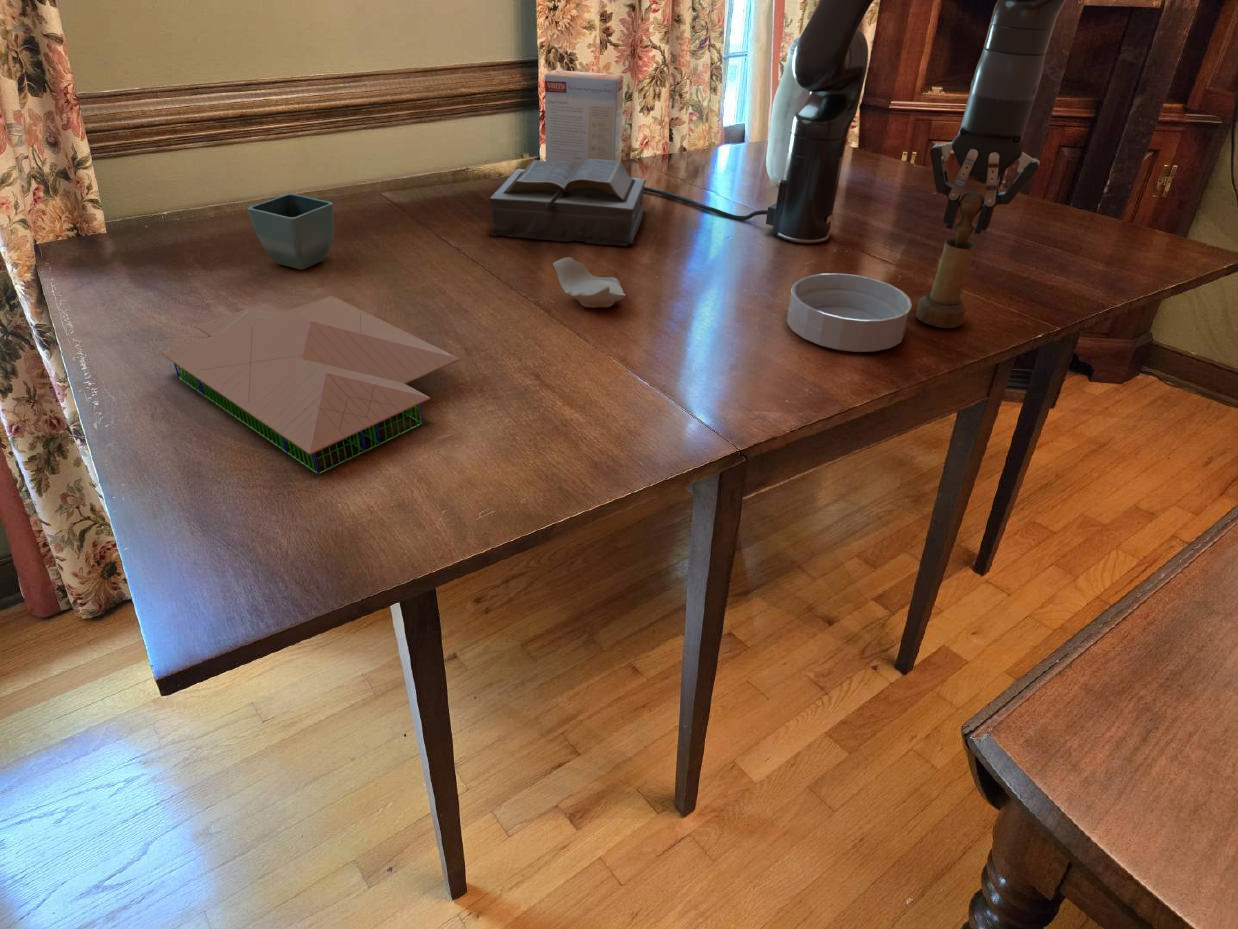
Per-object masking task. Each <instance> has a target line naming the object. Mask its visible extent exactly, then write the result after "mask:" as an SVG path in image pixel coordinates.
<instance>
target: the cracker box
mask: <svg viewBox="0 0 1238 929" xmlns="http://www.w3.org/2000/svg"><path fill="white" fill-rule="evenodd" d="M623 106H624V75H622V74H610V73H609V74H608V73H600V72H599V73H598V72H587V71H577V70H575V71H574V70H558V69H552V70H551V71H549V72H548V73H546V74H545V75H544V126H545V127H544V132H545V133H544V134H545V135H544V136H545V161H567V162H571V163H573V164H574V165H575V166H579V165H580V164H581V163H582V162H583V161H585V160H588V159H600V160H609V161H620V162H621V163H622V138H623V137H622V134H623V110H624V108H623Z"/></svg>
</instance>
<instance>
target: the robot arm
mask: <svg viewBox="0 0 1238 929" xmlns="http://www.w3.org/2000/svg"><path fill="white" fill-rule="evenodd" d="M874 1H875V0H819V2H818V4H817V6H816V7H815V10H814V11H813V13H812V15H811V17H810V19H809V21H808V22H807V24H806V26H805V27H804V29H803V31H802V33H801V35H800V36H801V37H800V36H799V37H800V38H799V41H798V43H797V45H796V48H795V51H794V55H793V60H792V70H793V75H794V78H795V81H796V82H797V84H798V85H799V86H800V87H801V88H802V89H804V90H806V91H809V92H810V94H809V96H808V98H807V100H806V102H805V103H804V105H803V106H802V107H801V108H800V109H799V110H798V111H797V112H796V113H795V115H794V117H793V121H792V127H791V134H790V141H789V148H788V154H787V161H786V168H785V174H784V178H782V179H781V180H780V183H779V185H778V190H777V196H776V197H777V198H776V203H773V204H771V205H769V206H768V207H767V209H761V210H755V211H752V212H750V213H749V214H745V215H736V214H733V213H729V212H726V211H723V210H721V209H718V208H715V207H712V206H709V205H706V204H703V203H700V202H698V201H695V200H693V199H691V198H687V197H684V196H682V195H678V194H675V193H671V192H669V191H665V190H661V189H656V188H653V187H648V186H644V192H649V193H652V194H657V195H660V196H664V197H668V198H671V199H675V200H677V201H681V202H684V203H687V204H690V205H692V206H695V207H697V208H699V209H702V210H704V211H708V212H711V213H713V214H716V215H719V216H722V217H725V218H728V219H732V220H737V221H748V220H750V219H752V218H754V217H756V216H762V215H763V216H764V215H766V217H765V225H769V226H772V231H771V236H777V237H778V238H780V239H783V240H785V241H788V242H791V243H796V244H805V245H814V244H821V243H824V242H826V241H828V240H829V238H830V230H831V224H832V221H834V219H835V213H834V210H835V205H836V204H835V203H836V199H837V198H836V197H837V193H838V187H839V182H840V176H841V172H842V171H841V170H842V166H843V160H844V155H845V150H846V144H847V139H848V134H849V131H850V130H849V129H850V127H851V124H852V123H853V121H854V119H855V117H856V116H857V112H858V109H859V105H860V101H861V96H862V92H863V87H864V84H865V83H864V82H865V80H866V74H867V69H868V65H869V64H868V63H869V45H868V44H869V43H868V41H867V38H866V36H865V34H864V32H863V31H862V30H861V29H860V28H859V27H860V24H861V23H862V21H863V19H864V17H865V15H866V13H867V11H868V10H869V8H870V7H871V5H872V4H873V3H874ZM1066 1H1067V0H997V2H996V3H995V5H994V8H993V11H992V14H991V19H990V22H989V26H988V30H987V34H986V37H985V41H984V44H983V49H982V52H981V54H980V57H979V59H978V62H977V65H976V68H975V71H974V74H973V78H972V80H971V81H970V82H971V83H970V90H969V94H968V98H967V101H966V105H965V109H964V112H963V116H962V121H961V123H960V124H961V125H960V128H959V131H958V133H957V135H956V136H955V137H954V138H953V140H952V141H950V142H946V143H936V144H934V145H933V146H932V148H931V149H930V151H929V156H930V161H931V168H932V173H933V178H934V179H933V180H934V185H935V190H936V192H937V193H938V194H942V195H944V196H946V197H947V204H946V208H945V211H944V215H943V218H942V219H943V223H944V224H946V229H949V230H950V229H951V230H952V229H953V228H954V226H955V224H956V220H957V216H958V212H959V210H960V207H959V202H960V199H961V197H962V192H963V190H964V188H965V186H966V184H967V181H968V180H969V178H970V177H975V176H977V177H978V176H979V177H981V178H983V179H986V182H985V197H984V204H983V206H982V209H981V210H980V212H979V216H978V219H977V223H976V226H975V229H974V234H976V235H981V233H982V231H986V230H987V229H988V228H989V226H990V223H991V220H992V218H993V213H994V211H995V208H996V207H997V206H999V205H1009V204H1010V203H1011V202H1012V201H1013V200H1014V199H1015V197H1016V196H1017V195H1018V194H1019V192H1020V191H1021V190H1022V189H1023V187H1025V185H1026V184H1027V183H1028V182H1029V180H1030V179H1031V178H1032V177H1033V175H1034V174H1035V173H1036V172H1037V171H1038V169H1039V168H1040V166H1041V160H1040V159H1039V158H1037V157H1034V158H1033V157H1032V156H1030V155H1028V154H1027V153H1025V152H1024V145H1023V138H1024V134H1025V132H1026V127H1027V125H1028V122H1029V118H1030V115H1031V112H1032V109H1033V105H1034V102H1035V99H1036V95H1037V93H1038V90H1039V86H1040V82H1041V79H1042V76H1043V71H1044V64H1045V59H1046V56H1047V53H1048V52H1047V51H1048V47H1049V45H1050V42H1051V38H1052V35H1053V32H1054V28H1055V26H1056V23H1057V19H1058V17H1059V14H1060V12H1061V10H1062V8H1063V7H1064V5H1065V4H1066ZM951 152H953V154H954V157H955V159H956V161H957V164H958V166H959V169H960V170H959V171H958V174H957V176H956V179H955V181H954V183H951V182H949V181H950V180H949V175H948V169H947V162H946V161H948V160H949V158H950V156H951V154H950V153H951ZM1017 161H1018V166H1017V168H1016V172H1017V173H1018V175H1017V177H1015V179H1014V180H1013V181H1012V182H1011V184H1009V186H1008V187H1007V188H1006V190H1005V191H1001V192H999V187H1000V182H1001V174H1002V173H1003V172H1005V171H1006V170H1007V169H1008V168H1010V167H1011V166H1012V165H1013V164H1014V163H1015V162H1017Z"/></svg>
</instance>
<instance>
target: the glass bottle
mask: <svg viewBox="0 0 1238 929" xmlns="http://www.w3.org/2000/svg"><path fill="white" fill-rule="evenodd" d="M800 37H801V35H800V36H798V37H797V38H796V39H794V41H792V43H791V44H790V46H789V49H788V51H787V57H786V62H785V65H784V69H783V72H782V76H781V79H780V82H779V84H778V86H777V89H776V92H775V95H774V98H773V102H772V108H771V115H770V123H769V132H768V133H769V134H768V139H767V148H766V157H765V166H766V171H767V175H768V177H769V179H770V181H771V182H772V183H773V184H775V185H777V186H779V183H780V180H781V179H782V178H784V174H785V168H786V161H787V154H788V148H789V141H790V134H791V127H792V121H793V117H794V115H795V113H796V112H797V111H798V110H799V109H800V108H801V107H802V106H803V105H804V103H805V102H806V100H807V98H808V96H809V94H810V92H809V91H806V90H804V89H802V88H801V87H800V86H799V85H798V84H797V82H796V81H795V78H794V75H793V70H792V60H793V55H794V51H795V48H796V45H797V43H798V41H799V38H800Z"/></svg>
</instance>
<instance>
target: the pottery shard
mask: <svg viewBox="0 0 1238 929" xmlns="http://www.w3.org/2000/svg"><path fill="white" fill-rule="evenodd" d="M552 266H553V267H554V269H555V271H556V274H557V277H558V281H559V285H560V286H561V288H562V290H563V291H564V293H566V295H568V296H569V297H570V298H571V299H574V300H576V301H578V303H579V304H580V305H581V306H582V307H585V308H593V309H595V308H610V307H612V306H613V305H614V304H615V302H618V301H621V300H622V299H624V298H626V297H627V295H626V293H624V290H623V288H622V285H621V284H620V281H619V280H618V279H617V278H616V277H613V276H607V277H606V276H605V277H602V276H596V275H593V274H591V273H590V271H589V270H588V269H587V267H586V265H584V264H583V263H580V262H579V261H577V260H575V259H574V258H573V257H571V256H568V257H563V258H561V259H558V260H555V261H554V262H553V263H552Z"/></svg>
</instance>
